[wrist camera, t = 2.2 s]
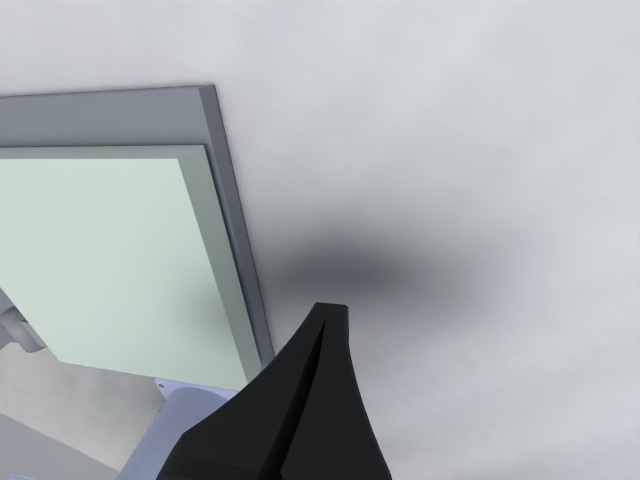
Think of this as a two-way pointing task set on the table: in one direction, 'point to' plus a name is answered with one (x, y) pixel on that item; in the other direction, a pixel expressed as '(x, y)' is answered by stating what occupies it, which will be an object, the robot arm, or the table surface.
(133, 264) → the door
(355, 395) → the robot arm
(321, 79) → the table surface
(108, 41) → the table surface
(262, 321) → the jig board
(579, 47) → the table surface
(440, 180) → the table surface
